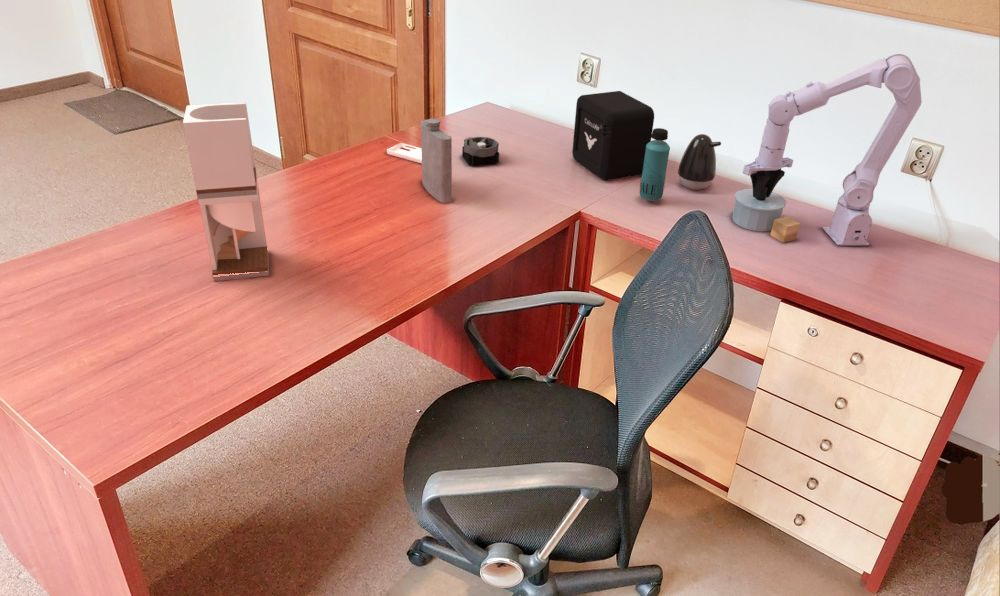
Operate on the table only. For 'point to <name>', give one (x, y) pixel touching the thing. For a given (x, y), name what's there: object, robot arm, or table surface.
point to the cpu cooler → (480, 151)
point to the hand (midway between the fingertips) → (761, 196)
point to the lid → (760, 200)
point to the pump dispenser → (698, 163)
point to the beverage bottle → (655, 166)
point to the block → (785, 229)
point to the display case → (227, 188)
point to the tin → (754, 218)
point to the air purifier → (612, 134)
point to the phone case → (406, 152)
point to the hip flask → (436, 160)
